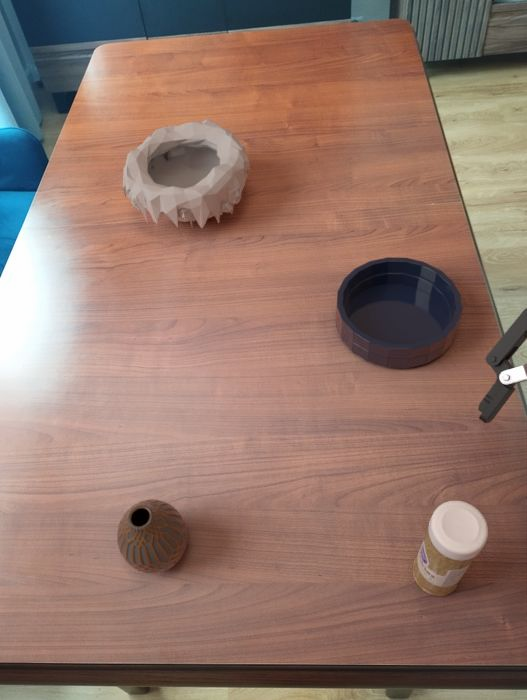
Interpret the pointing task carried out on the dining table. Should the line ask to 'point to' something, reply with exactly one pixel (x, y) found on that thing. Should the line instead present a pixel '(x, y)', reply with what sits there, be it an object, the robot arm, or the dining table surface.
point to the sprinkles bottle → (449, 547)
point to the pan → (398, 312)
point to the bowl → (186, 173)
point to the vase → (152, 536)
